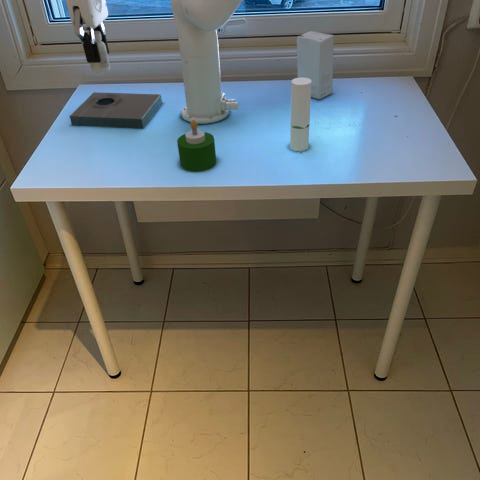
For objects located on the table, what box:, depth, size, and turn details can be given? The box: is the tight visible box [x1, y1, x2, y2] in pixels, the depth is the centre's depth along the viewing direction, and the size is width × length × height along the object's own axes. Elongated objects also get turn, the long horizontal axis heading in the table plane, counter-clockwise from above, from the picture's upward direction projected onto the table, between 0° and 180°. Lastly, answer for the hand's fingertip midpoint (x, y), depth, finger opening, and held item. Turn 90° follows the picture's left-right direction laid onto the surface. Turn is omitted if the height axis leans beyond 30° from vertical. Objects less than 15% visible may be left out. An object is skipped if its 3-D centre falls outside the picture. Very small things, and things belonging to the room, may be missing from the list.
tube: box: [289, 77, 312, 152], centre depth 117 cm, size 4×4×15 cm
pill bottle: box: [86, 31, 111, 74], centre depth 117 cm, size 4×4×8 cm
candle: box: [176, 120, 217, 173], centre depth 116 cm, size 8×8×10 cm
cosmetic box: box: [296, 30, 335, 100], centre depth 139 cm, size 8×6×15 cm
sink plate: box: [69, 91, 163, 129], centre depth 140 cm, size 20×16×2 cm
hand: (98, 57), depth 118 cm, fingers closed on pill bottle, 4 cm apart
